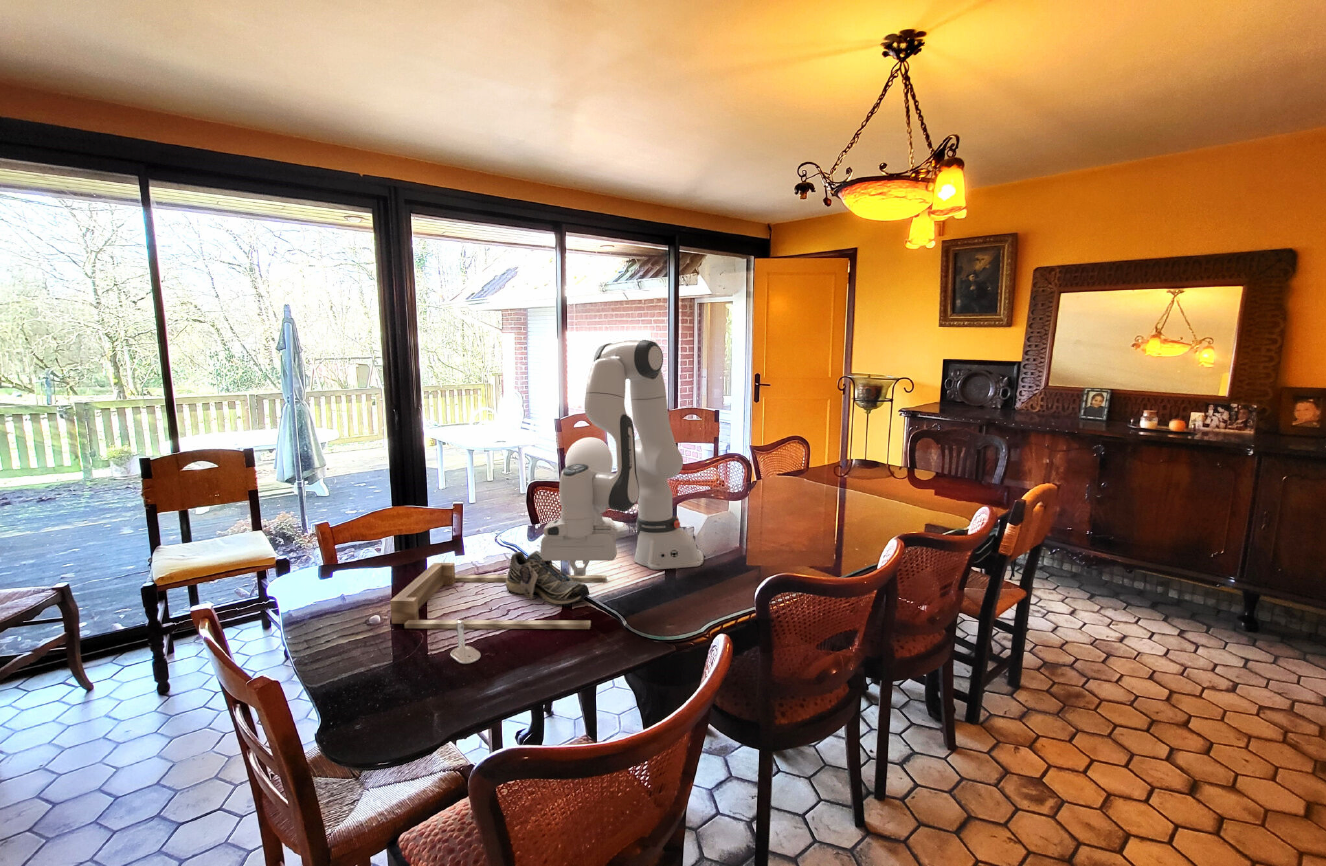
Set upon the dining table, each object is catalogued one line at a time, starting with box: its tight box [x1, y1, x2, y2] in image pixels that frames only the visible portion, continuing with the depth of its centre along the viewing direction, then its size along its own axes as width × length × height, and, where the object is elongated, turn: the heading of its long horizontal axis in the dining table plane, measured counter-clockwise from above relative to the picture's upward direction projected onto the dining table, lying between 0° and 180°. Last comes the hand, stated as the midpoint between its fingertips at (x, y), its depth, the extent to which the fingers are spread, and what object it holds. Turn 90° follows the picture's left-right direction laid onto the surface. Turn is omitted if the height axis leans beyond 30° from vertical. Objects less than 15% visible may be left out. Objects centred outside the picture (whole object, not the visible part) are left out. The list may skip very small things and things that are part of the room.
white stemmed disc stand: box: [450, 621, 481, 665], centre depth 130 cm, size 8×5×8 cm
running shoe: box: [505, 550, 590, 607], centre depth 161 cm, size 12×28×12 cm, turn 63°
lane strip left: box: [403, 619, 592, 630], centre depth 143 cm, size 46×2×1 cm, turn 88°
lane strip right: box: [455, 574, 607, 583], centre depth 172 cm, size 46×2×1 cm, turn 88°
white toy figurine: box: [564, 436, 618, 531], centre depth 219 cm, size 20×23×35 cm
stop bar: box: [389, 562, 456, 624], centre depth 158 cm, size 6×26×6 cm, turn 178°
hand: (579, 575), depth 156 cm, fingers closed
